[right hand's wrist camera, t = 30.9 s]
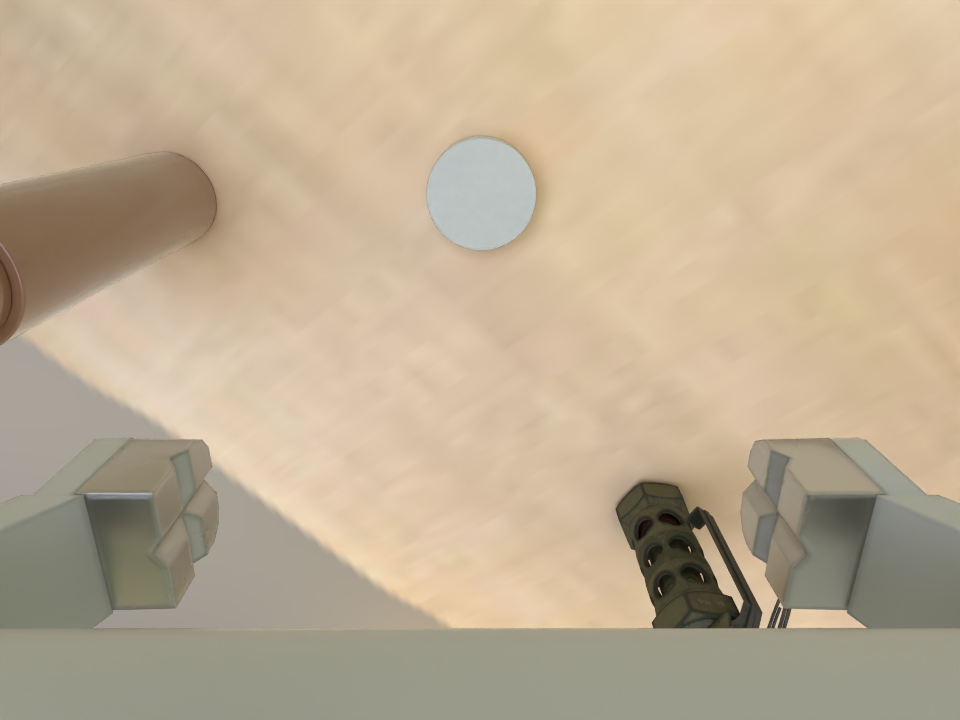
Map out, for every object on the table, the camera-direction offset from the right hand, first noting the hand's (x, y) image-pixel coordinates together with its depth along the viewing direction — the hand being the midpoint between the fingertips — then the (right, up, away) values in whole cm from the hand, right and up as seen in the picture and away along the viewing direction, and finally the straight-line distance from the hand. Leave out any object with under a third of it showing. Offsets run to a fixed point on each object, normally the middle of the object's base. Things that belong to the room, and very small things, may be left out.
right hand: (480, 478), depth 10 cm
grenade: (+13, -8, +36) cm, 39 cm away
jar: (-18, +11, +28) cm, 35 cm away
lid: (0, +11, +27) cm, 29 cm away
